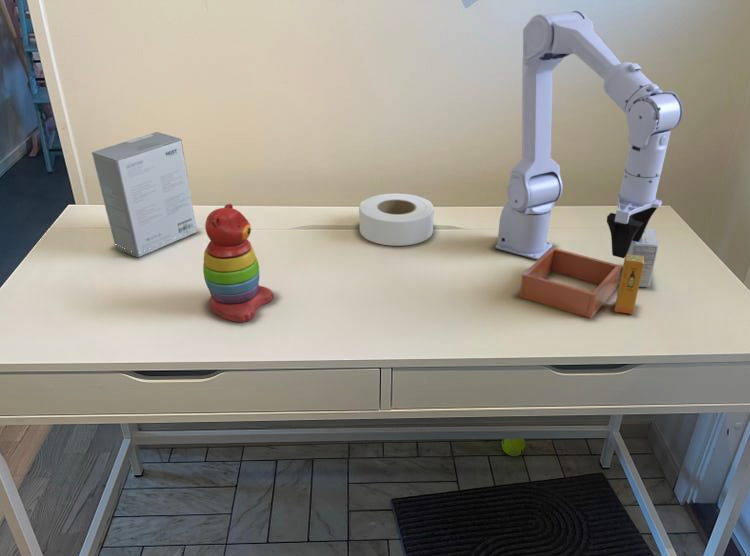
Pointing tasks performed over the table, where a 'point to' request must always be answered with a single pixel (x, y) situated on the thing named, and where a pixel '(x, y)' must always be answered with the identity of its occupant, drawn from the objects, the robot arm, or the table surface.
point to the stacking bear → (232, 267)
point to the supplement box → (629, 283)
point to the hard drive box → (146, 192)
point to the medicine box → (646, 254)
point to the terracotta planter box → (567, 295)
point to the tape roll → (396, 219)
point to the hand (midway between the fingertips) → (626, 248)
